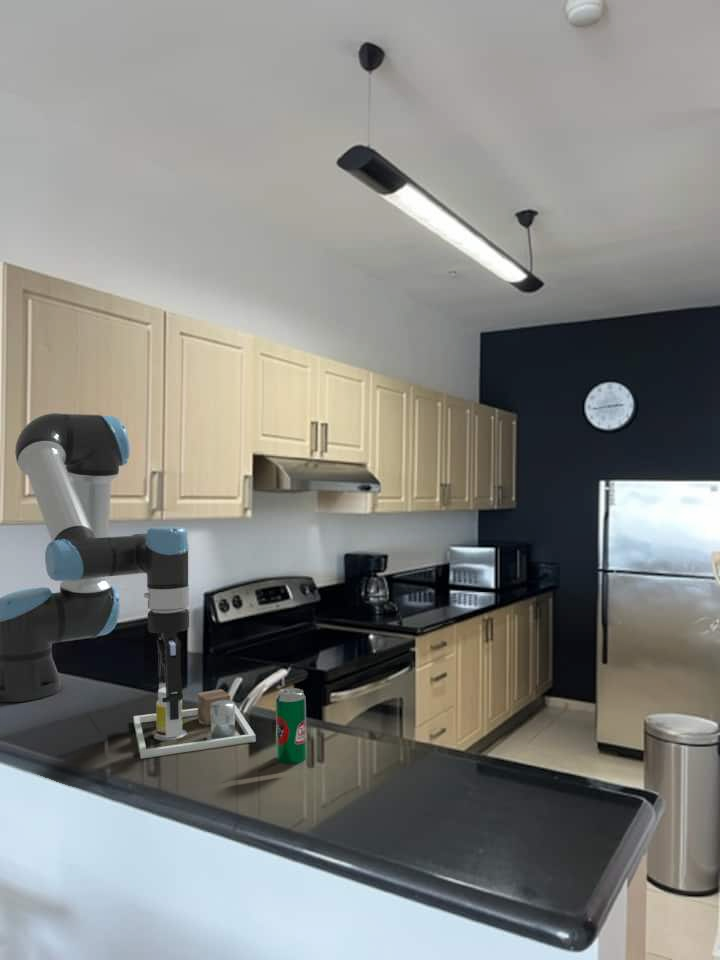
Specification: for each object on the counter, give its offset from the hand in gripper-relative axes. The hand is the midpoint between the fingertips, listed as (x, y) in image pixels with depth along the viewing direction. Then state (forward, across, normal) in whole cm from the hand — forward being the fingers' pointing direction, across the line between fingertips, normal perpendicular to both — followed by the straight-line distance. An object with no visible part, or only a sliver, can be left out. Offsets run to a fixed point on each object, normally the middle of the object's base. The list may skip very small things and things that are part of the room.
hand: (170, 725), depth 134 cm
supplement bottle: (+2, 0, 0) cm, 2 cm away
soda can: (+2, +20, +18) cm, 27 cm away
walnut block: (+2, -5, +9) cm, 10 cm away
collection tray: (+2, 0, +4) cm, 5 cm away
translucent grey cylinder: (+2, +5, +9) cm, 10 cm away
